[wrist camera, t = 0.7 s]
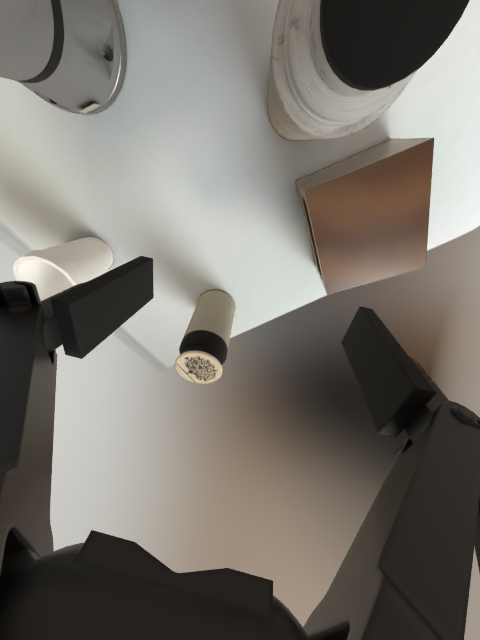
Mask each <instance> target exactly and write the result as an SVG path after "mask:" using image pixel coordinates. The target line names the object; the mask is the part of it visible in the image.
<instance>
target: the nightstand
mask: <svg viewBox="0 0 480 640" xmlns="http://www.w3.org/2000/svg"><path fill="white" fill-rule="evenodd" d="M433 147H434V138H413V139H390V140H387V141H385V142H383V143H381V144H378V145H376V146H374V147H371V148H369V149H367V150H365V151H362V152H360V153H358V154H356V155H353V156H351V157H349V158H346V159H344V160H342V161H340V162H337V163H335V164H333V165H331V166H328V167H326V168H324V169H321V170H319V171H317V172H315V173H312V174H310V175H308V176H306V177H303V178H301V179H299V180H296V185H297V189H298V192H299V193H300V194H301V199H302V204H303V208H304V213H305V217H306V221H307V226H308V230H309V234H310V239H311V243H312V248H313V252H314V256H315V260H314V262H315V267H316V269H317V272H318V274H319V276H320V279H321V281H322V284H323V286H324V288H325V291H326V293H327V295H329V294H332V293H336V292H340V291H343V290H347V289H350V288H354V287H357V286H361V285H365V284H368V283H371V282H375V281H379V280H382V279H386V278H389V277H393V276H396V275H400V274H404V273H407V272H411V271H414V270H418V269H421V268H425V267H426V253H427V238H428V223H429V208H430V193H431V178H432V162H433Z"/></svg>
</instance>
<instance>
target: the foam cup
mask: <svg viewBox="0 0 480 640" xmlns="http://www.w3.org/2000/svg"><path fill="white" fill-rule="evenodd" d="M113 259H114V258H113V254H112V251H111V250H110V248H109V247H108V245H107V244H106V243H104V242H103V241H102V240H100V239H98V238H95V237H86V238H81V239H78V240H75V241H71V242H68V243H64V244H61V245H57V246H54V247H50V248H47V249H43V250H35V251H32V252H30V253H28V254H26V255H24V256H22V257H20V258H19V259H18V260H17V261H16V262H15V263H14V276H15V278H16V280H17V281H26V282H31V283H33V284H35V285H36V287H37V291H38V294H39V297H40V301H42V300H45V299H47V298H49V297H51V296H53V295H55V294H57V293H60V292H61V293H62V291H64V290H66V289H69V288H70V287H72V286H75V285H77V284H80V283H84V282H88V281H90V280H92V279H94V278H96V277H98V276H100V275H102V274H104V273H106V271H107V270H108V269H109V268H110V266H111V265H112V263H113Z"/></svg>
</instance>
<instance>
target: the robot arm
mask: <svg viewBox="0 0 480 640" xmlns="http://www.w3.org/2000/svg"><path fill="white" fill-rule="evenodd" d="M126 59H127V52H126V39H125V32H124V26H123V21H122V17H121V13H120V10H119V6H118V3H117V0H0V77H3V78H7V79H11V80H15V81H18V82H20V83H21V84H23V85H24V86H25V87H27V88H28V89H30V90H31V91H33V92H34V93H36V94H37V95H38V96H40V97H41V98H43V99H44V100H46V101H47V102H49V103H50V104H52V105H54V106H56V107H58V108H60V109H63V110H65V111H69V112H73V113H78V114H95V113H99V112H101V111H103V110H105V109H107V108H108V107H109V106H110V105H111V104H112V103H113V102H114V101H115V99H116V98H117V96H118V94H119V92H120V90H121V88H122V85H123V81H124V77H125V72H126ZM152 298H153V259H152V258H148V257H144V256H140V257H138V258H136V259H134V260H132V261H130V262H127V263H125V264H123V265H121V266H119V267H117V268H115V269H113V270H111V271H109V272H107V273H104V274H102V275H100V276H98V277H96V278H94V279H92V280H90V281H88V282H84V283H80V284H77V285H75V286H72V287H70V288H69V289H66V290H64V291H62V293H61V292H60V293H57V294H55V295H53V296H51V297H49V298H47V299H45V300H42V301H40V297H39V294H38V291H37V287H36V285H35V284H33V283H31V282H26V281H10V282H4V283H0V640H464V633H465V624H466V615H467V606H468V597H469V588H470V579H471V570H472V562H473V553H474V545H475V551H476V556H477V560H478V566H479V571H480V418H479V417H478V416H477V415H476V414H475V413H473V412H472V411H470V410H469V409H467V408H466V407H464V406H462V405H460V404H458V403H455V402H452V401H449V400H448V399H447V398H446V396H445V395H444V394H443V393H442V391H441V390H440V389H439V388H438V387H437V385H436V384H435V383H434V382H433V381H431V378H430V377H429V375H428V374H426V372H425V370H424V369H423V368H422V367H421V365H420V364H419V363H417V362H416V361H415V360H414V359H412V358H411V357H409V356H408V355H407V354H406V352H405V351H404V350H403V348H402V347H401V346H400V344H399V343H398V342H397V341H396V339H395V338H394V337H393V335H392V334H391V333H390V332H389V330H388V329H387V328H386V326H385V325H384V324H383V322H382V321H381V320H380V319H379V317H378V316H377V315H376V314H375V312H374V311H373V310H372V309H369V308H365V307H359V309H358V311H357V313H356V315H355V317H354V319H353V321H352V322H351V324H350V326H349V328H348V330H347V332H346V334H345V336H344V338H343V340H342V342H341V343H342V345H343V348H344V350H345V353H346V355H347V357H348V360H349V363H350V365H351V367H352V370H353V372H354V375H355V377H356V380H357V382H358V385H359V387H360V390H361V392H362V395H363V397H364V400H365V402H366V405H367V407H368V410H369V412H370V415H371V417H372V420H373V422H374V424H375V427H376V429H377V432H378V433H380V434H384V435H388V436H392V437H397V436H398V435H399V434H400V433H401V432H402V430H403V429H404V428H405V430H406V432H407V434H408V436H409V438H408V439H407V440H406V441H405V442H404V443H403V444H402V445H401V446H400V448H398V449H397V450H396V451H395V454H396V455H397V457H396V459H395V461H394V463H393V465H392V467H391V469H390V471H389V473H388V475H387V477H386V479H385V481H384V482H383V484H382V486H381V488H380V490H379V492H378V494H377V496H376V498H375V500H374V502H373V504H372V506H371V508H370V510H369V512H368V514H367V516H366V518H365V520H364V521H363V523H362V525H361V527H360V529H359V531H358V533H357V535H356V537H355V539H354V541H353V543H352V545H351V547H350V549H349V551H348V553H347V555H346V557H345V559H344V561H343V562H342V564H341V566H340V568H339V570H338V572H337V574H336V576H335V578H334V580H333V582H332V584H331V586H330V588H329V590H328V591H327V593H326V595H325V596H324V598H323V599H322V601H321V602H320V603H319V604H318V606H317V607H316V608H315V609H314V611H313V612H312V614H311V615H310V617H309V618H308V620H307V622H306V624H305V625H304V627H302V626H301V624H300V623H299V622H298V620H297V619H296V618H295V617H294V615H293V614H292V613H291V612H290V611H289V609H288V608H287V607H286V606H284V604H283V603H281V602H280V601H279V600H278V599H277V598H276V597H274V596H273V581H272V580H268V579H264V578H261V577H257V576H254V575H250V574H247V573H243V572H240V571H236V570H233V569H229V568H224V569H215V570H206V571H196V572H187V573H176V572H173V571H172V570H170V569H169V568H168V567H166V566H165V565H164V564H163V563H161V562H160V561H159V560H157V559H156V558H155V557H154V556H152V555H151V554H150V553H148V552H147V551H146V550H144V549H143V548H142V547H141V546H139V545H138V544H137V543H135V542H132V541H129V540H125V539H122V538H118V537H115V536H111V535H107V534H104V533H100V532H97V531H91V532H90V534H89V536H88V538H87V540H86V541H85V543H79V544H75V545H71V546H67V547H64V548H61V549H59V550H56V551H53V537H52V531H51V525H50V496H51V475H52V454H53V432H54V411H55V389H56V369H57V368H56V367H57V354H56V350H55V349H56V348H58V347H59V346H60V345H62V344H63V347H64V351H65V354H66V355H69V356H73V357H77V358H81V359H82V358H83V357H85V356H86V355H87V354H88V353H89V352H90V351H92V350H93V349H94V348H95V347H96V346H97V345H99V344H100V343H101V342H102V341H103V340H104V339H106V338H107V337H108V336H109V335H110V334H112V333H113V332H114V331H115V330H116V329H117V328H119V327H120V326H121V325H122V324H123V323H124V322H126V321H127V320H128V319H129V318H130V317H131V316H133V315H134V314H135V313H136V312H137V311H138V310H140V309H141V308H142V307H143V306H144V305H145V304H147V303H148V302H149V301H150V300H151V299H152Z"/></svg>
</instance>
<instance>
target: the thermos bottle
mask: <svg viewBox="0 0 480 640" xmlns="http://www.w3.org/2000/svg"><path fill="white" fill-rule="evenodd" d="M468 2H469V0H280V1H279V4H278V8H277V13H276V18H275V23H274V29H273V37H272V50H271V61H270V73H269V84H268V96H267V111H268V116H269V120H270V122H271V125H272V127H273V128H274V130H275V131H276V132H277V133H278V134H279V135H280V136H281V137H283V138H285V139H288V140H312V139H330V138H339V137H343V136H347V135H350V134H353V133H355V132H357V131H359V130H361V129H363V128H365V127H366V126H368V125H369V124H371V123H372V122H373V121H375V120H376V119H377V118H379V117H380V116H381V115H382V114H383V113H384V112H385V111H386V110H387V109H388V108H389V107H390V106H391V105H392V104H393V102H394V101H395V100H396V99H397V97H398V96H399V95H400V94H401V93H402V91H403V90H404V88H405V87H406V85H407V84H408V82H409V81H410V80H411V78H412V77H413V75H414V74H415V73H416V71H417V70H418V69H419V68H420V67H421V66H422V65H423V64H424V63H425V62H426V61H427V60H428V59H430V58H431V57H432V56H433V55H434V54H435V52H436V51H437V50H438V49H439V48H440V46H441V45H442V44H443V43H444V41H445V40H446V39H447V38H448V36H449V35H450V33H451V32H452V30H453V29H454V27H455V25H456V24H457V22H458V21H459V19H460V18H461V16H462V14H463V12H464V10H465V8H466V6H467V4H468Z"/></svg>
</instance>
